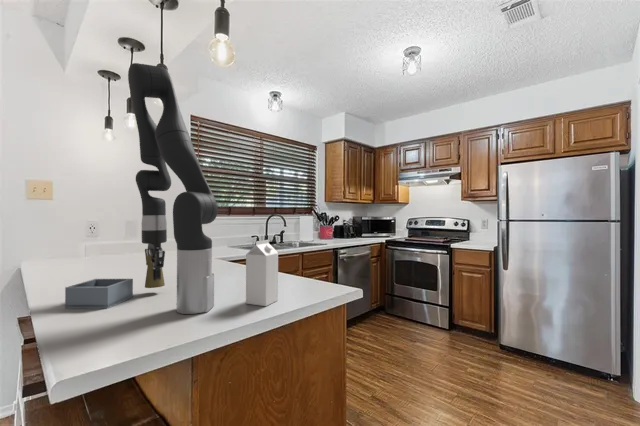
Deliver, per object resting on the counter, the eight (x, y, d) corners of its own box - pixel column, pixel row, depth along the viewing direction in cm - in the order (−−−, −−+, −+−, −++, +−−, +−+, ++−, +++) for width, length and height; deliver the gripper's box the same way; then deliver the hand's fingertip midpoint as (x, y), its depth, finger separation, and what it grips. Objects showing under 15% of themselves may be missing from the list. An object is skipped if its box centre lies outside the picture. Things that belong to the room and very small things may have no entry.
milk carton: (245, 304, 92) (245, 241, 92) (258, 298, 99) (259, 239, 99) (265, 306, 90) (266, 242, 90) (278, 300, 96) (278, 240, 96)
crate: (132, 297, 100) (132, 278, 100) (107, 308, 88) (107, 287, 88) (95, 297, 99) (95, 278, 99) (65, 308, 87) (65, 287, 87)
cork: (155, 288, 101) (155, 254, 101) (140, 287, 102) (139, 254, 102) (168, 284, 106) (168, 252, 106) (153, 283, 108) (153, 252, 108)
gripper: (173, 228, 102) (173, 280, 102) (159, 228, 112) (159, 275, 112) (148, 229, 97) (148, 284, 96) (136, 228, 107) (136, 278, 107)
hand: (154, 279), depth 104 cm, fingers closed on cork, 4 cm apart
